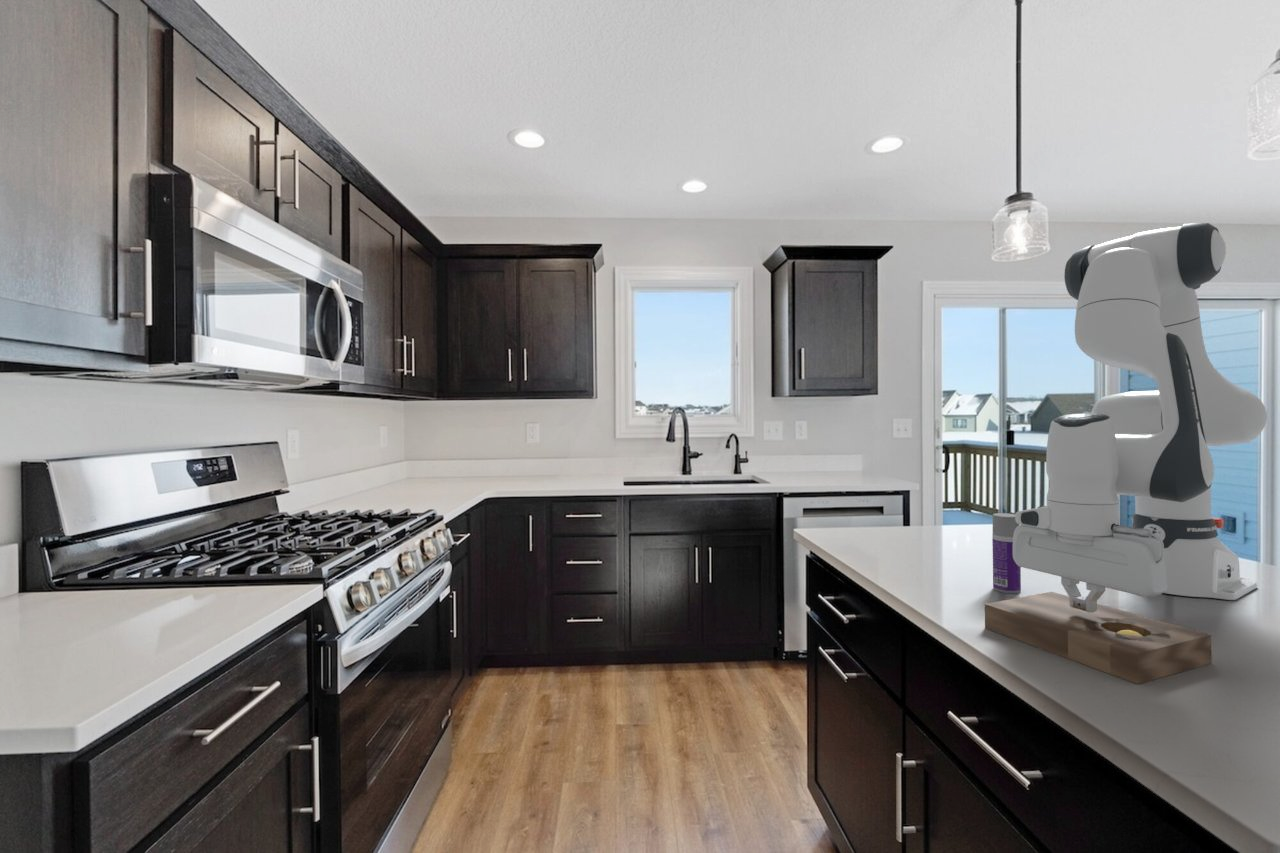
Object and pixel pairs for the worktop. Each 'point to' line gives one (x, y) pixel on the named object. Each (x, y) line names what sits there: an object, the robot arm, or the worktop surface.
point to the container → (1005, 554)
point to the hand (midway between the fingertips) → (1083, 609)
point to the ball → (1129, 633)
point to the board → (1100, 636)
